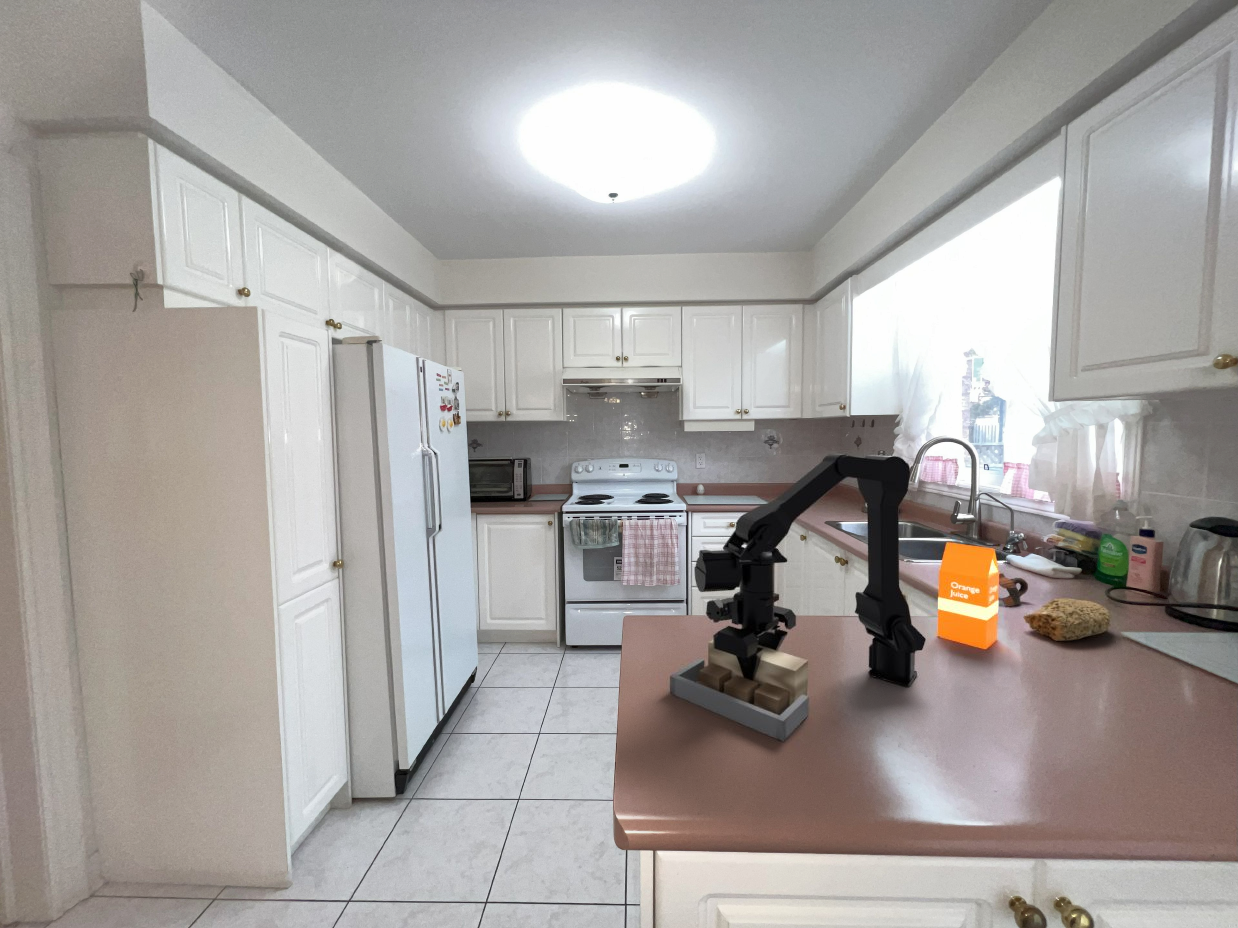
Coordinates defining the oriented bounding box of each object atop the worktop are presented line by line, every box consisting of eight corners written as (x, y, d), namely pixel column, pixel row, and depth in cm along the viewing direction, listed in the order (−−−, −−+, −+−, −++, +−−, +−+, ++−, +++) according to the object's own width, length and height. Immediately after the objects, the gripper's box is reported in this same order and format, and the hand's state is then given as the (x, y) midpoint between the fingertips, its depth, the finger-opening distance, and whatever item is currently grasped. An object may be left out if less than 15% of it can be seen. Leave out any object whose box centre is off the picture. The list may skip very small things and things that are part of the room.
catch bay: (808, 715, 77) (808, 696, 77) (783, 741, 70) (783, 720, 70) (699, 674, 91) (699, 658, 90) (670, 692, 84) (670, 675, 84)
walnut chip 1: (731, 686, 86) (731, 669, 86) (719, 695, 83) (719, 678, 83) (711, 679, 89) (711, 662, 89) (699, 687, 86) (699, 670, 86)
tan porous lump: (1075, 655, 100) (1143, 625, 105) (1063, 616, 101) (1131, 588, 106) (1012, 641, 113) (1075, 615, 118) (1001, 607, 114) (1064, 582, 119)
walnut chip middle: (758, 700, 82) (758, 682, 81) (746, 710, 79) (746, 691, 79) (736, 691, 84) (736, 674, 84) (724, 701, 81) (724, 683, 81)
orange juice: (985, 649, 100) (989, 551, 99) (936, 636, 107) (939, 544, 106) (997, 639, 105) (1000, 546, 104) (949, 627, 112) (952, 539, 111)
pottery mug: (997, 609, 124) (980, 577, 128) (978, 614, 133) (962, 584, 136) (1045, 597, 124) (1026, 565, 127) (1022, 602, 133) (1005, 572, 136)
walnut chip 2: (789, 708, 79) (789, 690, 79) (778, 719, 76) (778, 700, 76) (766, 699, 82) (766, 682, 81) (754, 709, 79) (754, 691, 79)
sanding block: (807, 695, 82) (808, 660, 82) (794, 707, 78) (795, 670, 78) (722, 665, 93) (723, 633, 93) (708, 674, 89) (708, 642, 89)
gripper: (742, 568, 97) (741, 646, 98) (686, 590, 83) (686, 681, 84) (797, 579, 89) (796, 664, 90) (746, 606, 76) (745, 705, 77)
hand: (756, 677), depth 85 cm, fingers closed on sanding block, 5 cm apart
